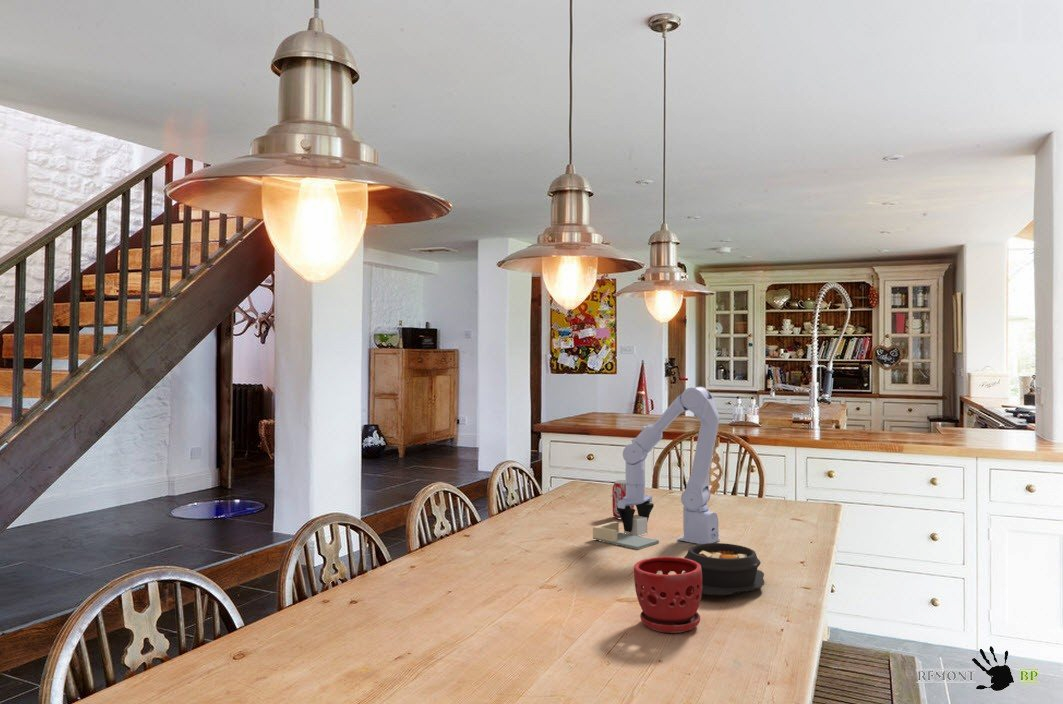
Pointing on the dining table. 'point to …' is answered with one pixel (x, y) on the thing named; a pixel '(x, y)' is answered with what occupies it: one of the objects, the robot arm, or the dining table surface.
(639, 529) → the cabinet block
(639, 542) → the board
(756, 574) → the casserole
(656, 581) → the plant pot
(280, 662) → the dining table surface
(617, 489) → the soda can
